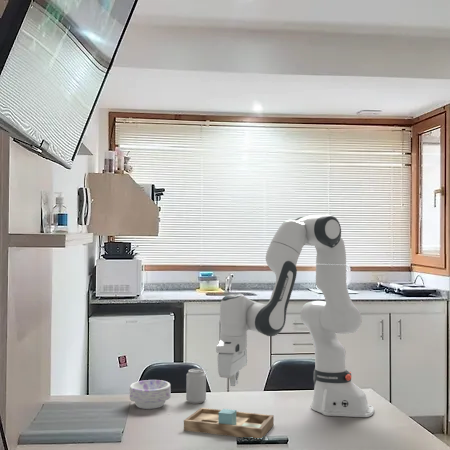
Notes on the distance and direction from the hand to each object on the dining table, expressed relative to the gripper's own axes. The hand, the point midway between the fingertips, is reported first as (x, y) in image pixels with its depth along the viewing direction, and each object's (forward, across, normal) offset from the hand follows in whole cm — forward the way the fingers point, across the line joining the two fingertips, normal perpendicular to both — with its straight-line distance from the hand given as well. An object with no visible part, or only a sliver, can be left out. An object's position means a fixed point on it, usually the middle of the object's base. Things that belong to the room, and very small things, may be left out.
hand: (234, 385), depth 185 cm
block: (+11, +6, 0) cm, 13 cm away
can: (+14, -23, -23) cm, 36 cm away
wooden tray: (+14, +2, -1) cm, 14 cm away
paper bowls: (+14, -12, -37) cm, 41 cm away
